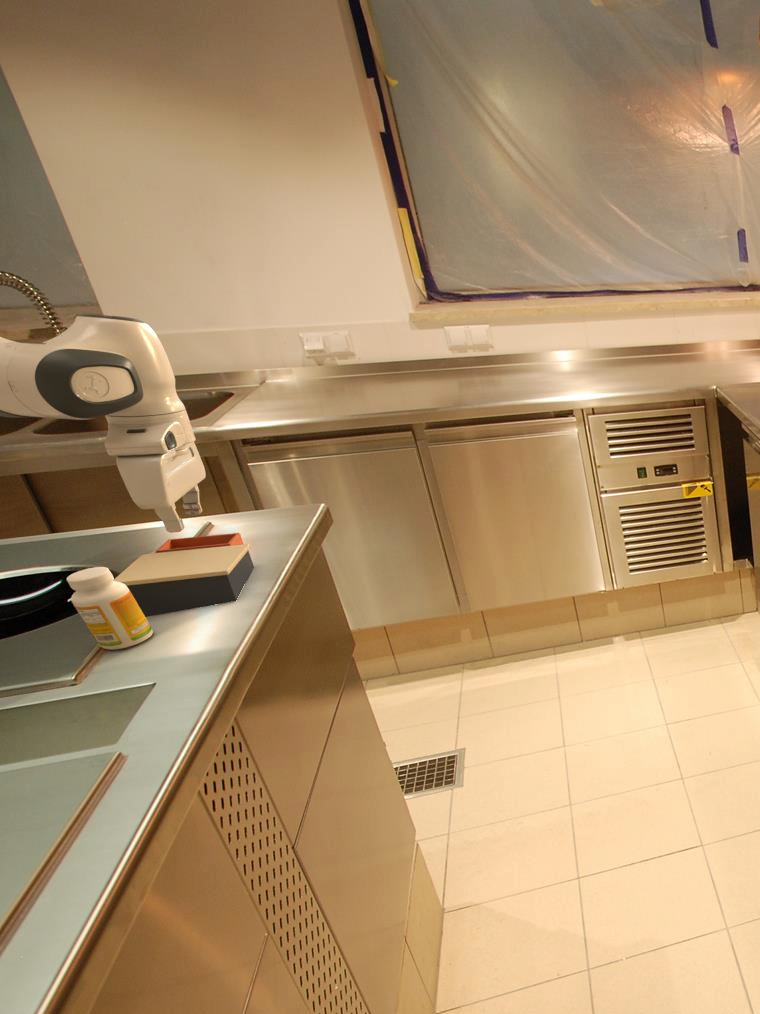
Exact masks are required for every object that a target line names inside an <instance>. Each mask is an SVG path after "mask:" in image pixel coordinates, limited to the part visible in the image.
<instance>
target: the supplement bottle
mask: <svg viewBox="0 0 760 1014" xmlns="http://www.w3.org/2000/svg"><path fill="white" fill-rule="evenodd" d="M114 579H115V578H114V575H113V573H112V572H111V570H110V569H109V568H108V567H106V566H94V567H90V568H89V567H88V568H84V569H81V570H78V571H75V572H73V573H71V574H70V575H68V576H67V577H66V582H67V583H68V585H69V587H70V588H71V590H73V591H74V592H73V594H72V595H71V596H70V601H71V603H72V605H73V607H74V608H75V609H76V611H77V612H78V614H79V616H80V618H81V619H82V621H83V623H85V625H86V626H87V628H88V629H89V631H90V633H91V635H92V636H93V637H94V639H95V640H96V642H97V644H98V645H99V647H100V648H102V649H104V650H105V649H106V650H121V649H125V648H130V647H133V646H135V645H138V644H140V643H142V642H144V641H146V640H147V639H149V638H151V636H152V635H153V633H154V630H153V628H152V625H151V623H150V622H149V620H148V619H147V617H145V616H144V614H143V612H142V610H141V609H140V607H139V605H138V604H137V602H136V600H135V598H134V597H133V595H132V594H131V592H130V590H129V589H128V587H127V586H126V585H125V584H123V583H121V582H116V581H113V580H114Z"/></svg>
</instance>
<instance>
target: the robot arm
mask: <svg viewBox="0 0 760 1014" xmlns="http://www.w3.org/2000/svg"><path fill="white" fill-rule="evenodd" d="M0 417H3V418H13V419H14V418H15V419H17V418H19V419H20V418H46V419H56V420H75V421H76V420H77V421H83V420H86V421H87V420H93V419H96V418H101V417H105V419H106V422H107V429H108V430H107V434H106V437H105V439H104V442H103V443H104V447H105V450H106V453H107V455H108V456H109V457H116V460H115V461H116V467H117V469H118V471H119V474H120V477H121V479H122V482H123V484H124V486H125V489H126V490H127V492H128V494H129V496H130V498H131V500H132V502H133V503H134V504H135V505H136V506H137V507H138V508H139V509H140V510H154V513H155V515H157V517H158V518H159V519H160V520H161V521H162V523H163V524H164V528H165V530H166V531H165V532H167V533H170V534H171V533H180V532H182V531H183V530H184V529H185V524H184V522H183V521H184V520H183V518H182V517H180V516H179V515H178V512H177V511H176V509H177V507H176V502H178V501H179V500H180V499H181V498H182V502H183V504H182V508H183V510H184V513H185V515H187V516H188V517H189V516H190V517H191V516H199V515H201V513H203V508H202V506H201V501H200V489H199V486H198V484H199V483H201V482H202V481H203V480H205V479H206V477H207V475H206V468H205V465H204V463H203V460H202V458H201V454H200V452H199V450H198V447H197V445H196V443H195V442H196V441H197V438H196V436H195V433H194V429H193V427H192V423H191V421H190V418H189V415H188V411H187V409H186V406H185V405H184V403H183V401H182V400H181V399H180V397H179V395H178V393H177V390H176V377H175V374H174V371H173V368H172V365H171V361H170V360H169V358H168V354H167V353H166V350H165V348H164V346H163V344H162V342H161V340H160V338H159V336H158V335H157V333H156V332H155V330H154V329H153V328H152V327H151V326H150V325H149V324H148V323H146V322H144V321H142V320H139V319H137V318H133V317H128V316H120V315H119V316H118V315H107V314H97V313H96V314H95V313H86V314H85V313H84V314H81V315H77V316H76V317H75V319H74V322H73V323H72V324H71V325H70V326H69V327H68V328H67V329H66V330H64V331H62V332H61V333H60V334H58V335H56V336H54V337H52V338H50V339H48V340H45V341H42V343H28V342H19V341H14V340H11V339H7V338H6V337H5V338H4V337H2V336H0Z"/></svg>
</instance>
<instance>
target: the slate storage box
mask: <svg viewBox="0 0 760 1014" xmlns="http://www.w3.org/2000/svg"><path fill="white" fill-rule="evenodd" d="M250 549H251V545H250V544H249V543H243V545H233V546H223V547H213V548H203V549H192V550H182V551H172V552H162V553H156V552H153V553H151V552H150V553H142V554H141V555H140V556H139V557H138V558H136V559H135V560H134V561H133V562H132V563H131V564H130V565H128V567H126V568H125V569H124V570H123V571H122V572H120V574H119V575H117V576H116V577H115V578H114V580H113V581H116V582H121V583H123V584H125V585H126V586H127V587H128V589H129V590H130V592H131V594H132V595H133V597H134V598H135V600H136V602H137V604H138V605H139V607H140V609H141V610H142V612H143V614H144V616H145V617H146V618H149V617H155V616H159V615H160V616H161V615H166V614H172V613H176V612H177V613H178V612H183V611H189V610H194V609H199V608H200V607H201V608H206V607H211V605H212V606H216V605H215V604H218V605H223V604H229V603H232V602H231V601H235V602H237V601H238V599H239V597H240V596H239V594H240V592H241V590H242V588H243V586H244V584H245V583H246V584H247V582H248V581H249V578H250V576H251V575H250V574H252V573H253V570H254V569H255V565H254V562H253V560H252V557H251V554H250ZM246 581H247V582H246ZM246 584H245V585H246ZM244 587H245V586H244ZM243 589H244V588H243ZM242 591H243V590H242ZM241 593H242V592H241ZM240 595H241V594H240ZM238 596H239V597H238ZM237 598H238V599H237ZM236 600H237V601H236ZM228 602H229V603H228ZM201 608H200V609H201Z"/></svg>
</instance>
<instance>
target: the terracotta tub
mask: <svg viewBox="0 0 760 1014" xmlns="http://www.w3.org/2000/svg"><path fill="white" fill-rule="evenodd" d="M233 545H244V541H243V538H242V535H241V532H234V533H233V532H232V533H223V534H212V535H202V536H201V535H200V536H191V537H181V538H169V539H167V540H166V541H165V542H164V543H163V544H162V545H161V546H159V547H158V548H157V549H156V550H155V553H162V552H172V551H182V550H192V549H203V548H213V547H223V546H233Z"/></svg>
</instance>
